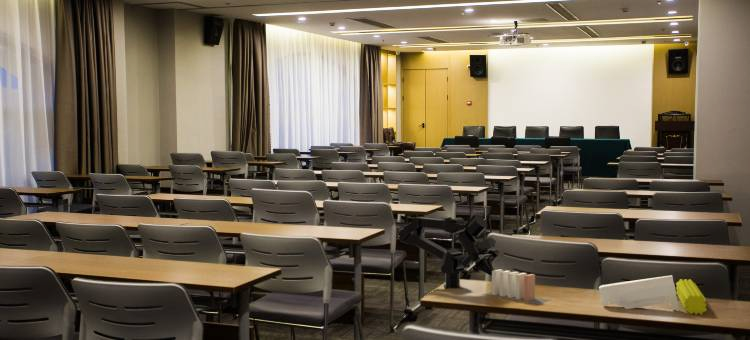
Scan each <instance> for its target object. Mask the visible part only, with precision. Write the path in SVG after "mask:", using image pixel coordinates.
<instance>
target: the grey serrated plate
mask: <svg viewBox="0 0 750 340" xmlns="http://www.w3.org/2000/svg"><path fill="white" fill-rule="evenodd" d="M482 295H483V296H490V297H495V298H502V299H507V300H513V301H517V302H525V303H529V304H536V305H541V304H544V303H546V302H550V301H551V299H546V298H540V297H535V299H532V300H528V301H526V300H524V298H522V299H516V297H512V298H509V297H508V295H507V296H500V294H497V295H492V291H489V292H487V293H483V294H482Z"/></svg>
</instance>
